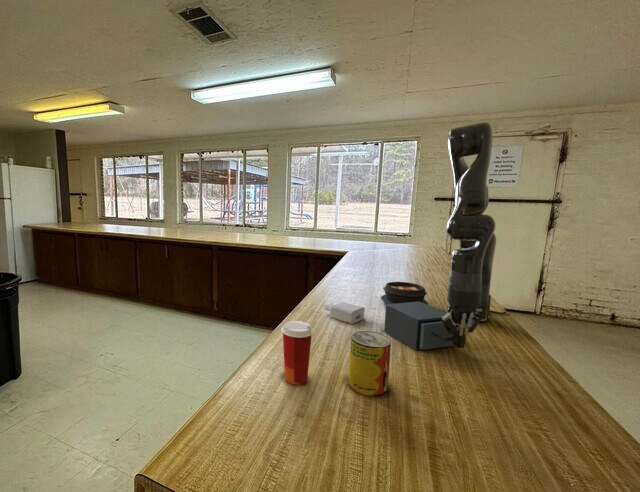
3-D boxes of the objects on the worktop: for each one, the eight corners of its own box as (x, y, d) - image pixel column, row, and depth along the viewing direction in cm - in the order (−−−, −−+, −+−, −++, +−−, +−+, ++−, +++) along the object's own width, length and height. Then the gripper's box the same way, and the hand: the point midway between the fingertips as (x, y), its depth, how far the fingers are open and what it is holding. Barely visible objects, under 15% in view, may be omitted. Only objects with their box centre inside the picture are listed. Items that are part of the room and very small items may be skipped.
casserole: (424, 317, 123) (426, 296, 122) (373, 308, 134) (375, 288, 132) (431, 301, 143) (432, 282, 142) (386, 294, 154) (388, 277, 153)
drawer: (470, 352, 93) (473, 327, 92) (435, 357, 90) (438, 331, 89) (422, 328, 110) (424, 306, 109) (391, 331, 108) (393, 309, 106)
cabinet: (452, 345, 100) (455, 315, 98) (415, 350, 96) (418, 319, 95) (417, 327, 114) (419, 301, 112) (384, 331, 110) (385, 304, 109)
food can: (369, 400, 72) (372, 350, 70) (340, 380, 80) (342, 335, 78) (396, 389, 76) (399, 342, 74) (366, 371, 84) (369, 328, 82)
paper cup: (313, 373, 83) (314, 322, 81) (309, 389, 76) (310, 334, 74) (284, 368, 86) (284, 318, 84) (277, 383, 79) (277, 329, 77)
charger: (330, 308, 133) (364, 318, 122) (317, 313, 127) (351, 324, 116) (331, 297, 133) (364, 306, 121) (317, 302, 127) (351, 312, 115)
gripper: (456, 292, 82) (450, 355, 85) (496, 289, 86) (489, 350, 88) (433, 285, 89) (428, 343, 92) (470, 282, 93) (465, 338, 95)
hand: (458, 346), depth 90 cm, fingers closed
